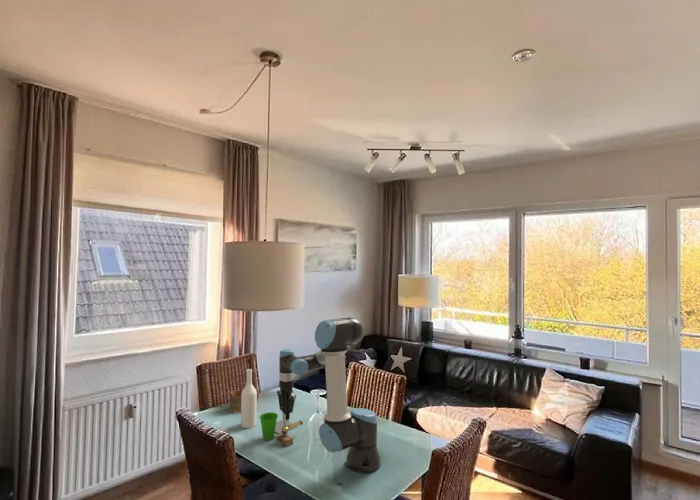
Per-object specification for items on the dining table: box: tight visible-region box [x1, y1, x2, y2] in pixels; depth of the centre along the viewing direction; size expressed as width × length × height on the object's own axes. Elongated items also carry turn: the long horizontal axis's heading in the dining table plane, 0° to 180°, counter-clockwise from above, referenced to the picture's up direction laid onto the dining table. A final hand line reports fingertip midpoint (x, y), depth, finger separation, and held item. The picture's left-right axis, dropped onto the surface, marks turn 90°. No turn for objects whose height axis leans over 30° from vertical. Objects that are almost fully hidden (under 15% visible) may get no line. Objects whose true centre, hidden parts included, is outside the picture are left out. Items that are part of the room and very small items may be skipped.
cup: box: [259, 412, 279, 441], centre depth 196 cm, size 9×9×11 cm
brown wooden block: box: [275, 432, 294, 448], centre depth 191 cm, size 8×4×5 cm, turn 49°
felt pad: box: [274, 419, 296, 435], centre depth 209 cm, size 12×12×1 cm
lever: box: [282, 420, 304, 433], centre depth 197 cm, size 13×3×2 cm, turn 139°
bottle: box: [240, 368, 258, 429], centre depth 211 cm, size 8×8×30 cm
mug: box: [228, 388, 260, 413], centre depth 233 cm, size 12×18×12 cm, turn 89°
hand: (286, 425), depth 202 cm, fingers closed
